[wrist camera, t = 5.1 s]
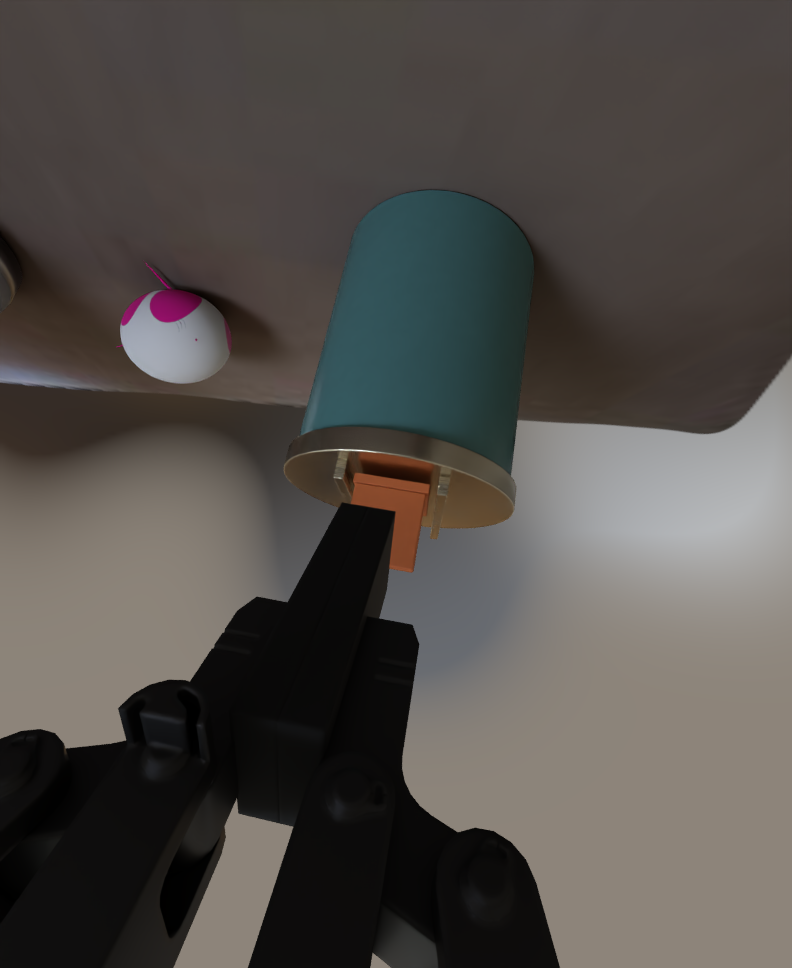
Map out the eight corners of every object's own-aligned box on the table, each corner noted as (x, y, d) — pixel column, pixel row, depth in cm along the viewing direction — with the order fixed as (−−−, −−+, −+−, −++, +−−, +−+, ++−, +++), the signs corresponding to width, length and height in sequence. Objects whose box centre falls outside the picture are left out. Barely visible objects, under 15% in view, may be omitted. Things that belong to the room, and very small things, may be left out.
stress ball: (229, 239, 31) (163, 261, 26) (267, 357, 35) (216, 396, 30) (139, 252, 33) (61, 275, 28) (184, 361, 38) (125, 398, 32)
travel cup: (328, 171, 21) (244, 452, 17) (568, 195, 20) (539, 500, 16) (356, 321, 31) (307, 521, 27) (516, 342, 30) (491, 553, 26)
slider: (354, 472, 18) (336, 557, 17) (430, 484, 18) (416, 571, 17) (364, 497, 22) (348, 570, 21) (427, 508, 22) (415, 582, 21)
